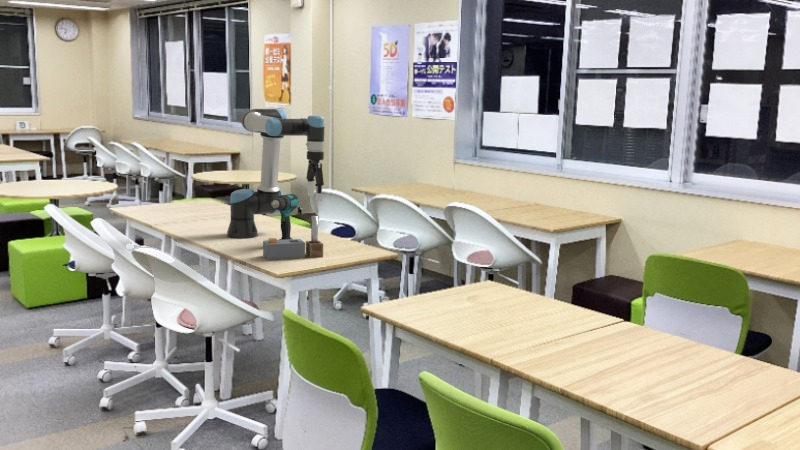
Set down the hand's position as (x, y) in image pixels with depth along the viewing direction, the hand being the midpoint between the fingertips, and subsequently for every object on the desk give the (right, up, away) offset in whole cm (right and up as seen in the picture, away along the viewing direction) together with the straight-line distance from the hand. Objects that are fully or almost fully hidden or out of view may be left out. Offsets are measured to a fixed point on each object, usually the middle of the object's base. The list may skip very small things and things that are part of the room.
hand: (314, 198), depth 323 cm
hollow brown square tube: (-1, -26, +4) cm, 26 cm away
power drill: (-17, -23, +20) cm, 35 cm away
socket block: (-13, -26, -1) cm, 29 cm away
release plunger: (-18, -26, -3) cm, 32 cm away
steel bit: (-1, -26, +4) cm, 26 cm away
